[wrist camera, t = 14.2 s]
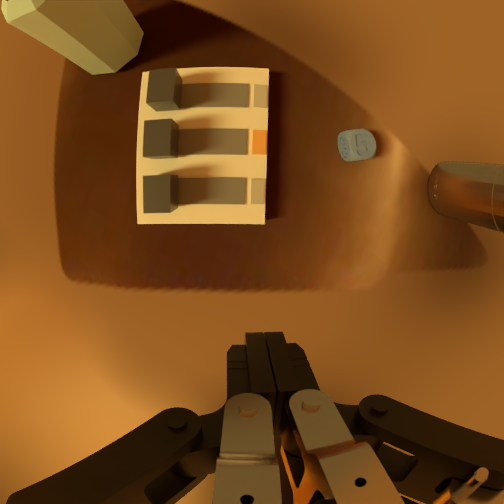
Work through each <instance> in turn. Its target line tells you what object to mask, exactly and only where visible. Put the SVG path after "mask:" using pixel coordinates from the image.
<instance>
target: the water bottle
mask: <svg viewBox="0 0 504 504" xmlns="http://www.w3.org/2000/svg"><path fill="white" fill-rule="evenodd" d="M1 10H2V12H3V14H4V17H5V19H6V21H7V23H9V24H11V25H12V26H14V27H16V28H18V29H20V30H21V31H23V32H25V33H26V34H28V35H30V36H32V37H33V38H35V39H37V40H38V41H40V42H42V43H43V44H45V45H47V46H48V47H50V48H52V49H53V50H55V51H56V52H58V53H60V54H61V55H63V56H64V57H66V58H68V59H69V60H71V61H72V62H74V63H75V64H77V65H78V66H80V67H82V68H83V69H85V70H86V71H88V72H89V73H91V74H92V75H95V74H104V73H114V72H117V71H118V70H119V69H120V68H122V67H123V66H124V65H125V64H126V63H128V62H129V61H130V60H131V59H133V58H134V57H135V56H136V55H137V54H138V51H139V47H140V44H141V40H142V37H143V34H144V32H143V31H142V29H141V27H140V26H139V24H138V23H137V21H136V19H135V18H134V16H133V15H132V13H131V12H130V10H129V9H128V7H127V5H126V4H125V2H124V1H123V0H2V6H1Z"/></svg>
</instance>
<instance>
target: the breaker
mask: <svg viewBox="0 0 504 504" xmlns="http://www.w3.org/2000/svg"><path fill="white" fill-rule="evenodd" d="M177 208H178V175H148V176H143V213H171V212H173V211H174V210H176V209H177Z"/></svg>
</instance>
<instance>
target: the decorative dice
mask: <svg viewBox="0 0 504 504" xmlns="http://www.w3.org/2000/svg"><path fill="white" fill-rule="evenodd" d="M338 149H339V152H340V155H341V157H342V158H343V160H345V161H346V162H348V161H357V160H365V159H372V158H374V156H375V154H376V150H377V146H376V140H375V138H374V135H373V134H372V133H371V132H370V131H369V130H368V129H354V130H348V131H343V132H340V134H339V135H338Z"/></svg>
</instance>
